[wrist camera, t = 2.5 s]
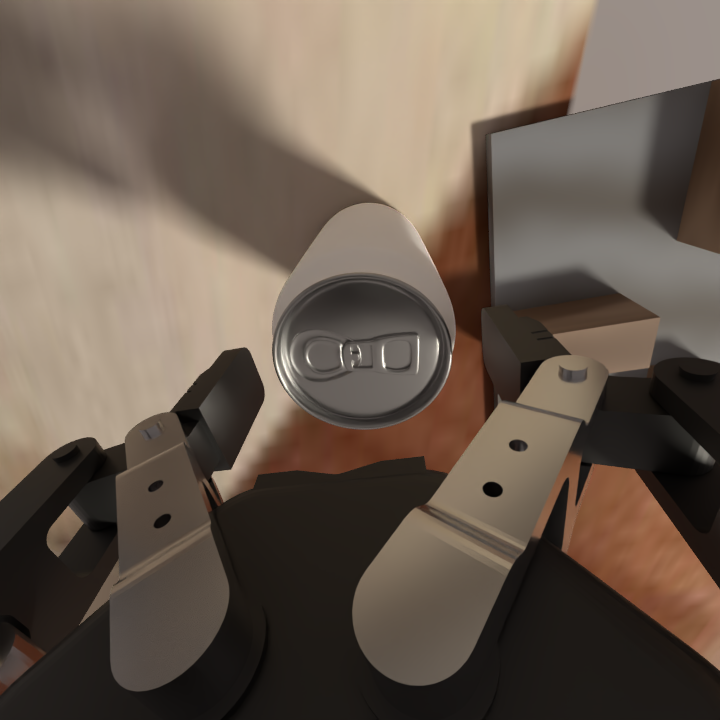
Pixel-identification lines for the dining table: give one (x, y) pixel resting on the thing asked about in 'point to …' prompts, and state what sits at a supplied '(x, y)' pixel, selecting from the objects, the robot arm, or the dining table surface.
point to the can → (364, 322)
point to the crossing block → (613, 228)
